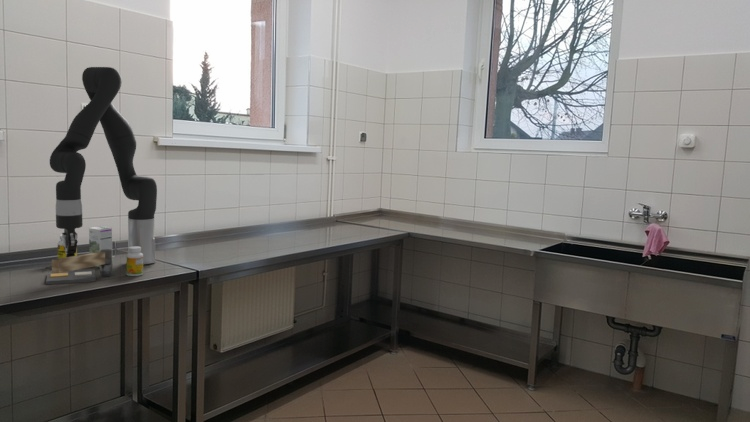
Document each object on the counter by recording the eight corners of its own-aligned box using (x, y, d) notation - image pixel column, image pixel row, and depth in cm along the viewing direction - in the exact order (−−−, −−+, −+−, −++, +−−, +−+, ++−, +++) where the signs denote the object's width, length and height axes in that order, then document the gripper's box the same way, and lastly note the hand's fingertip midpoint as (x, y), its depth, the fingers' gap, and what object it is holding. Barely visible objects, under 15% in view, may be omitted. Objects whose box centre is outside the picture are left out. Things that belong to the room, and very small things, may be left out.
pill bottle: (53, 264, 200) (53, 235, 199) (68, 262, 206) (68, 233, 205) (66, 266, 198) (65, 236, 197) (80, 263, 204) (80, 234, 202)
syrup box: (113, 265, 203) (113, 227, 202) (99, 268, 198) (99, 228, 196) (102, 263, 206) (102, 225, 204) (88, 266, 200) (88, 227, 199)
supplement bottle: (123, 274, 190) (123, 247, 189) (137, 272, 195) (137, 245, 194) (132, 277, 187) (131, 249, 186) (146, 274, 192) (146, 247, 191)
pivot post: (112, 274, 190) (112, 262, 190) (113, 276, 187) (112, 265, 186) (99, 274, 188) (99, 263, 188) (100, 277, 185) (99, 265, 184)
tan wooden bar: (107, 261, 189) (106, 248, 189) (114, 263, 188) (114, 250, 187) (48, 273, 170) (48, 258, 170) (56, 274, 169) (56, 260, 168)
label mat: (94, 272, 192) (94, 268, 192) (95, 281, 180) (95, 276, 180) (48, 274, 185) (48, 270, 185) (46, 284, 173) (46, 280, 173)
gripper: (85, 215, 174) (87, 268, 176) (78, 209, 184) (79, 259, 187) (58, 216, 169) (60, 270, 172) (53, 210, 180) (54, 261, 182)
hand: (70, 264), depth 179 cm, fingers closed
